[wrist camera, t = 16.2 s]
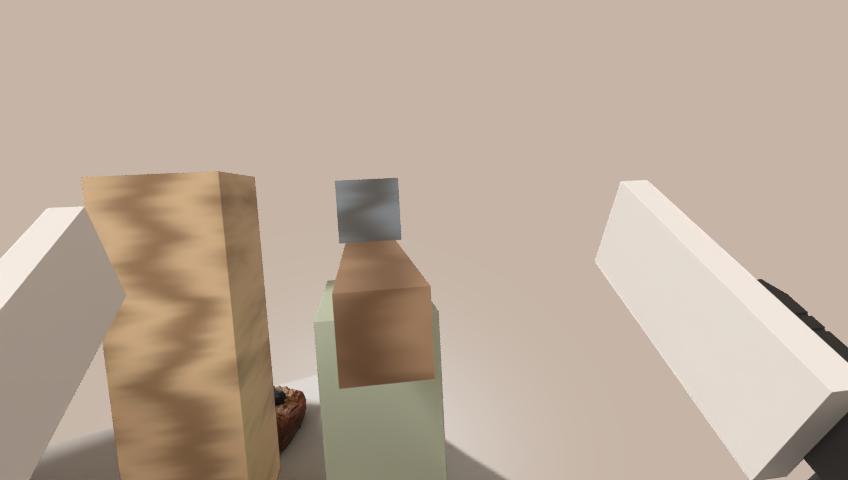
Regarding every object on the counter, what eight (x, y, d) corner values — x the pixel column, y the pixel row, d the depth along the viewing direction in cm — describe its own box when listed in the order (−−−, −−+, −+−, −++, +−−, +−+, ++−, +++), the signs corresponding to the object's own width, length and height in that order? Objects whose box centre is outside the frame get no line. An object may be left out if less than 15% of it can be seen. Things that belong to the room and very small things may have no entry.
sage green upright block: (336, 609, 31) (313, 322, 29) (342, 482, 45) (327, 280, 43) (452, 590, 32) (438, 311, 30) (423, 471, 46) (413, 274, 44)
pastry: (183, 467, 50) (177, 415, 49) (232, 413, 62) (227, 371, 61) (285, 463, 49) (280, 411, 49) (314, 410, 61) (310, 367, 61)
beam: (326, 390, 19) (309, 168, 18) (344, 280, 43) (337, 182, 42) (446, 377, 20) (436, 163, 19) (398, 276, 43) (393, 179, 42)
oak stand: (132, 575, 35) (81, 177, 32) (189, 479, 47) (155, 181, 44) (255, 556, 36) (218, 171, 33) (280, 467, 48) (254, 176, 45)
